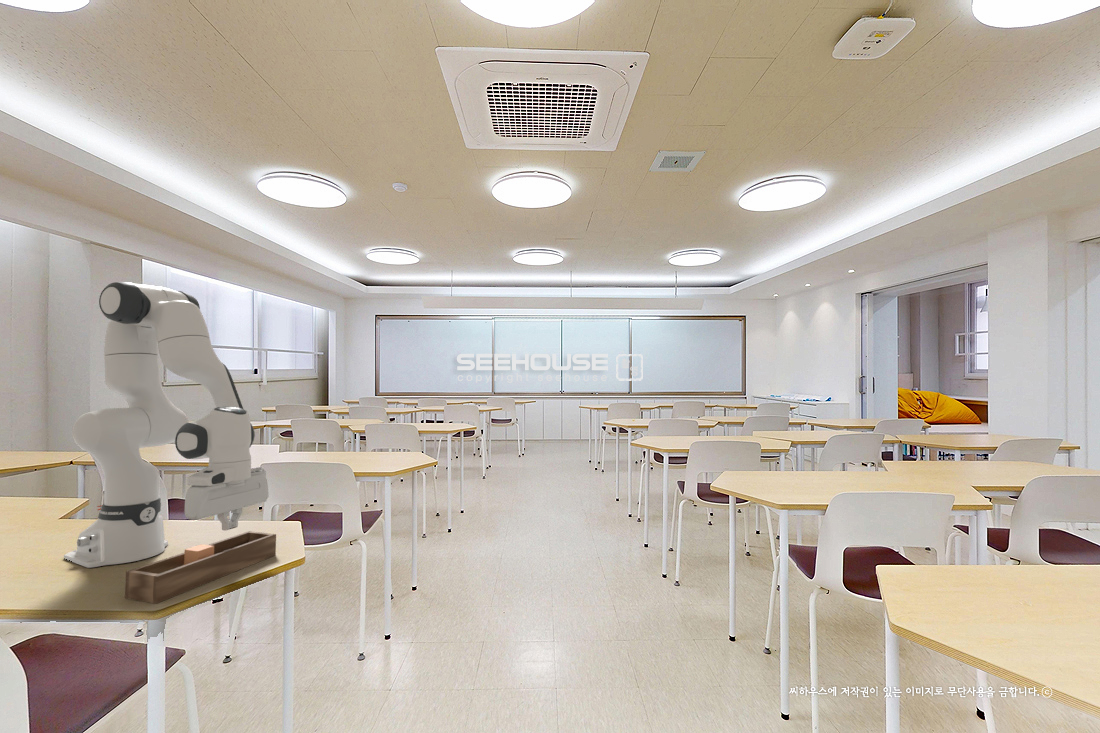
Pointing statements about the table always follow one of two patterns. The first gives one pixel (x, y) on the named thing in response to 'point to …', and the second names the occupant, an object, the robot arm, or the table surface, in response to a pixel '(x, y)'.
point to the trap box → (197, 567)
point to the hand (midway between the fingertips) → (229, 528)
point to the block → (198, 553)
